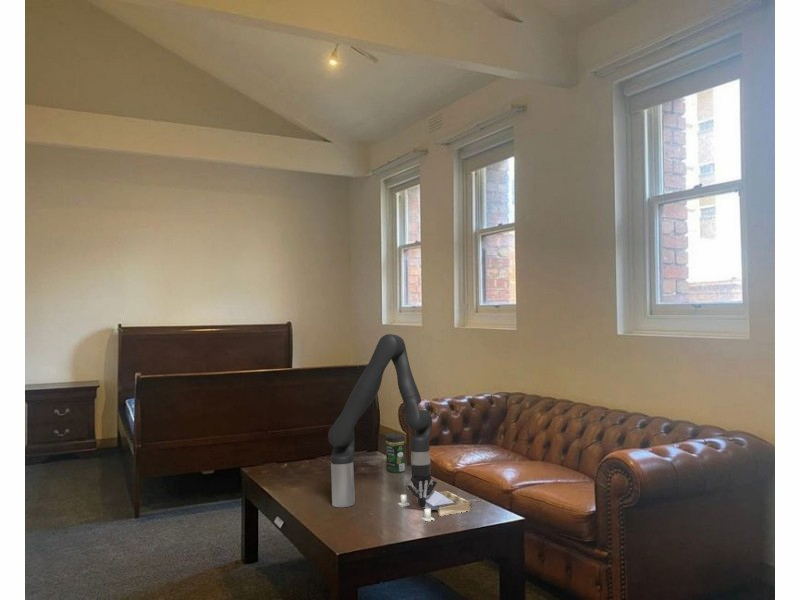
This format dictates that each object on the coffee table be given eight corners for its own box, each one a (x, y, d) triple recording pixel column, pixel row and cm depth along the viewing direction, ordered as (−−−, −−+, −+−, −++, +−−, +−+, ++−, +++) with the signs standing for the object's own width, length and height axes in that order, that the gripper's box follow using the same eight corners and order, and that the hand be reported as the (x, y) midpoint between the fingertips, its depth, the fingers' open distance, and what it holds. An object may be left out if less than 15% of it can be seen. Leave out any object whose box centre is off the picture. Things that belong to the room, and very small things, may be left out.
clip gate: (398, 504, 249) (397, 494, 250) (406, 503, 251) (405, 493, 251) (425, 521, 227) (425, 510, 227) (434, 520, 229) (434, 509, 229)
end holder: (416, 503, 250) (416, 495, 250) (447, 498, 256) (447, 490, 256) (439, 516, 233) (439, 508, 233) (472, 510, 238) (471, 502, 239)
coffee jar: (383, 470, 306) (382, 433, 306) (396, 468, 310) (395, 431, 311) (394, 474, 298) (393, 435, 298) (408, 471, 302) (406, 433, 303)
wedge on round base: (454, 511, 238) (440, 502, 250) (454, 493, 239) (439, 485, 251) (433, 514, 235) (420, 505, 247) (433, 497, 235) (419, 488, 247)
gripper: (431, 458, 247) (432, 501, 246) (401, 462, 241) (402, 506, 241) (440, 462, 240) (441, 507, 240) (409, 466, 235) (410, 512, 234)
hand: (421, 506), depth 240 cm, fingers closed
